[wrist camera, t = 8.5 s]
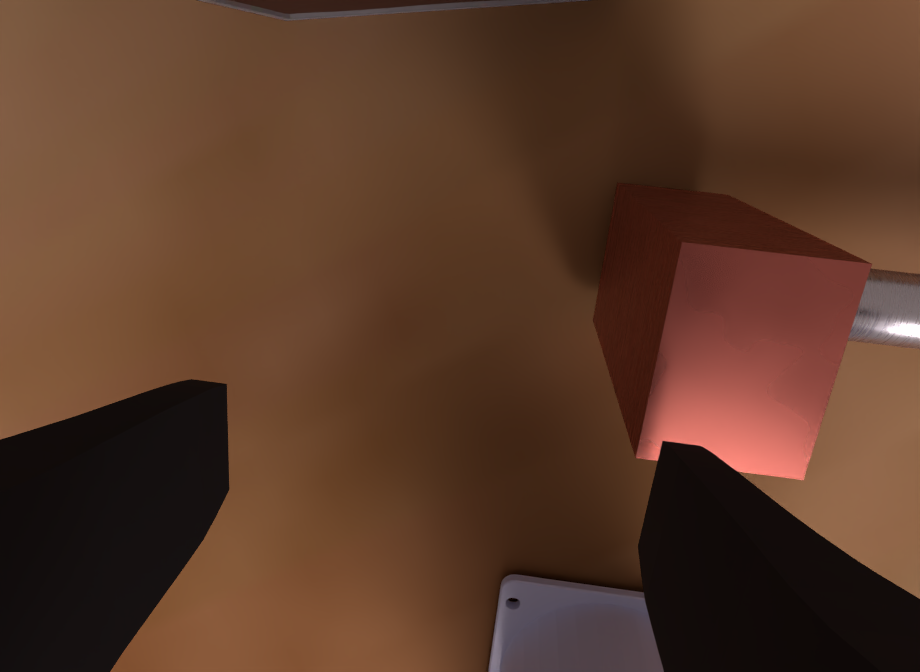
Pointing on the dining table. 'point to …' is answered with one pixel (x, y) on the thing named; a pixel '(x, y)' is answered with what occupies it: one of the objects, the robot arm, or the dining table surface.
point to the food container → (359, 6)
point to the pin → (734, 325)
